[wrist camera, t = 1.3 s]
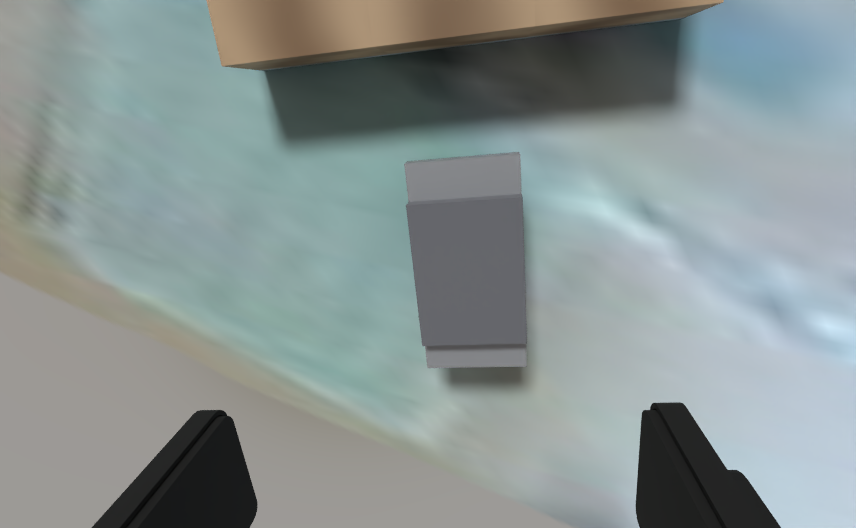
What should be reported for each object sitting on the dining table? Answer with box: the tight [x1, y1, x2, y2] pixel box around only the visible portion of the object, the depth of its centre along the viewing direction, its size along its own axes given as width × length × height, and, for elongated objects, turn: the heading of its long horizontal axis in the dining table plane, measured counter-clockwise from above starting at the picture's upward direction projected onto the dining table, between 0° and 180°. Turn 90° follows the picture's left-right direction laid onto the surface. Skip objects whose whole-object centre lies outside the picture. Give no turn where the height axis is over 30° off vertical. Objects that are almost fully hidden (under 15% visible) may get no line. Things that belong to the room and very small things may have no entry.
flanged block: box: [404, 152, 527, 368], centre depth 23 cm, size 5×10×5 cm, turn 5°
